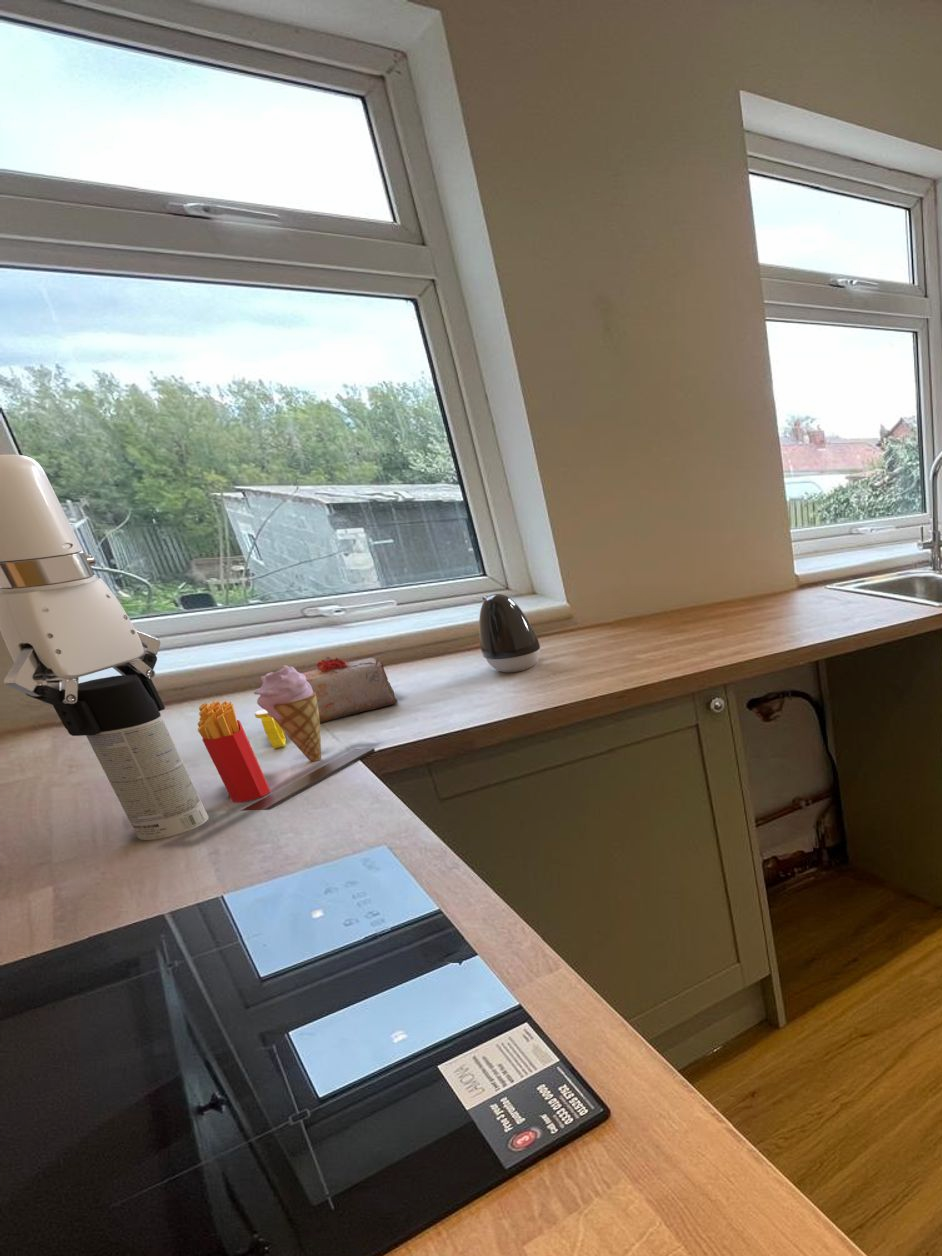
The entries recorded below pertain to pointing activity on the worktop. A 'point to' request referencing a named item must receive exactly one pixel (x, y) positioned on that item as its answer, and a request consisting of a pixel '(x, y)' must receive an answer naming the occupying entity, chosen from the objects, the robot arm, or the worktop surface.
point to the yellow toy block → (271, 729)
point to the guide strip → (309, 780)
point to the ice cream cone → (293, 708)
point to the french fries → (231, 752)
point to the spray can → (141, 758)
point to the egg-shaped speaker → (506, 635)
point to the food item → (349, 687)
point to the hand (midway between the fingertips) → (119, 721)
